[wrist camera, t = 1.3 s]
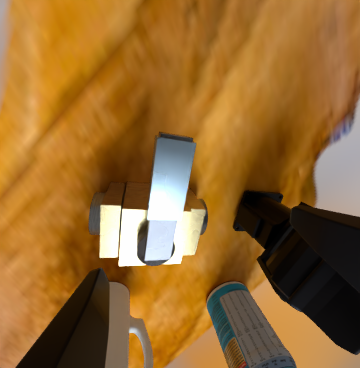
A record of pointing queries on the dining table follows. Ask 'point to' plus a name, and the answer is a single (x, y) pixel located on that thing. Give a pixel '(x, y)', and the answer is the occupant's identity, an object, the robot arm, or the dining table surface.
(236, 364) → the beverage bottle
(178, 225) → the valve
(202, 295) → the dining table surface
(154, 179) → the lever
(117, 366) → the mug
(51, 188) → the dining table surface
